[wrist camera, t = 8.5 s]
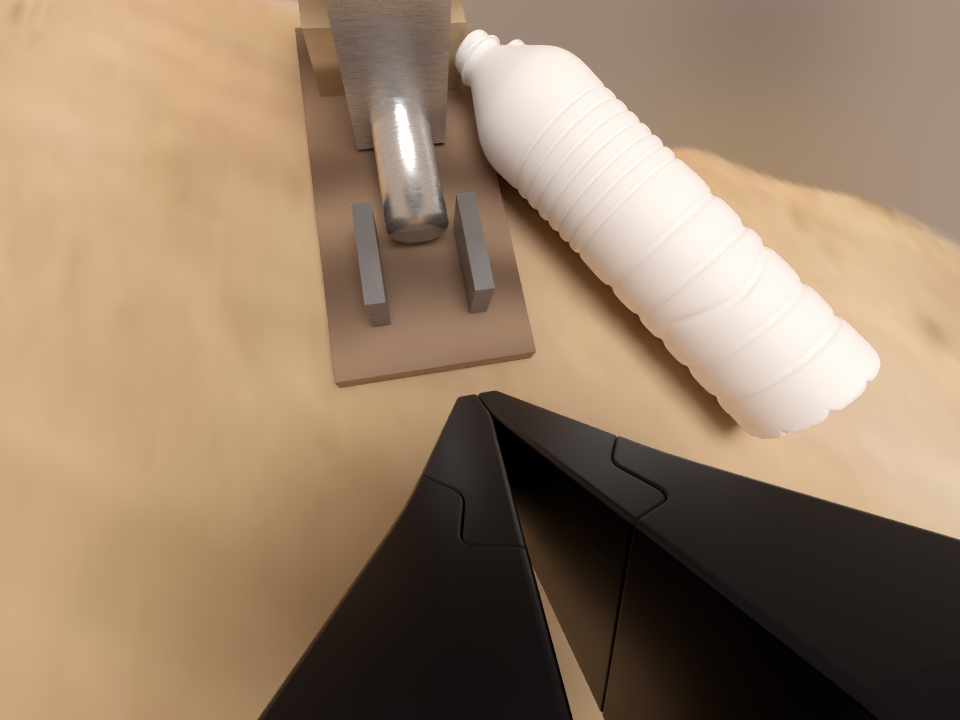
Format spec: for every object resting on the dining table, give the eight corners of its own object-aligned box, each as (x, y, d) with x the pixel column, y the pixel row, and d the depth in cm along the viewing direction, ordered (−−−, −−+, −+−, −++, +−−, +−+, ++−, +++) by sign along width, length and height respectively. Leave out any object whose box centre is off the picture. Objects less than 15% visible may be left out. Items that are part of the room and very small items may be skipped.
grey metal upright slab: (467, 239, 24) (511, -31, 11) (368, 251, 23) (292, -26, 10) (428, 44, 27) (428, -346, 14) (339, 48, 26) (253, -361, 13)
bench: (530, 357, 24) (566, 316, 18) (340, 387, 22) (306, 354, 16) (461, 39, 29) (469, -79, 23) (300, 46, 27) (263, -78, 21)
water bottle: (897, 392, 17) (464, -37, 19) (742, 461, 21) (403, 102, 24) (869, 320, 24) (549, 6, 26) (756, 384, 28) (489, 109, 30)
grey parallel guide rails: (486, 311, 23) (494, 288, 20) (373, 327, 22) (364, 305, 19) (469, 225, 24) (474, 191, 21) (360, 237, 23) (350, 203, 20)
